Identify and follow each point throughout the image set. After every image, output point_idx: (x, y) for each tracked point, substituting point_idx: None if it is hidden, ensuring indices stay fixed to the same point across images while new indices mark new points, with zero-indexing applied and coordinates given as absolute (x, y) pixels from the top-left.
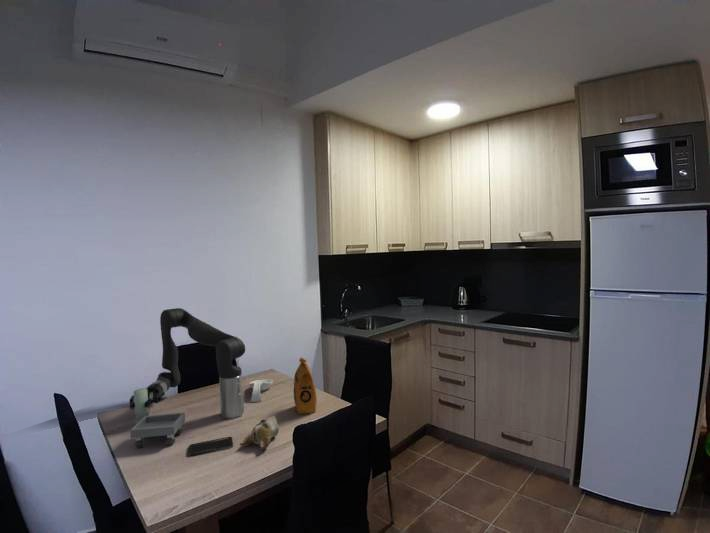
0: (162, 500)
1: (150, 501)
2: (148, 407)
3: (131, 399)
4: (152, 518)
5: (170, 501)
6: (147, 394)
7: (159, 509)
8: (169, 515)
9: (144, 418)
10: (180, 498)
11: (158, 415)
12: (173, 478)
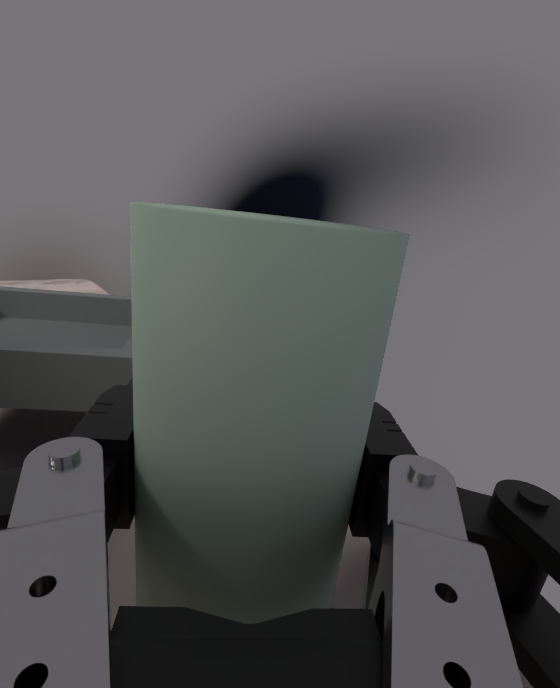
0: (67, 290)
1: (89, 292)
2: (136, 568)
3: (520, 497)
4: (85, 281)
5: (53, 287)
6: (132, 319)
7: (73, 285)
8: (58, 279)
9: (130, 340)
10: (33, 287)
11: (22, 346)
12: None
